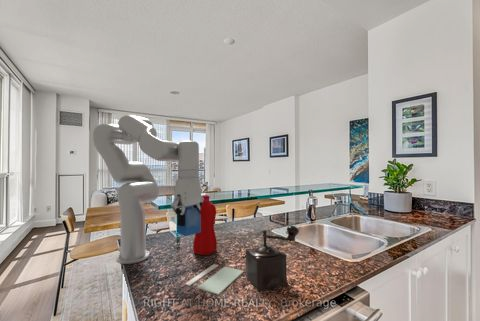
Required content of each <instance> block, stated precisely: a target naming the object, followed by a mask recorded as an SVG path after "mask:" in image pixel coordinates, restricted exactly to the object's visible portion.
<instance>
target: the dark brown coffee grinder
mask: <svg viewBox="0 0 480 321" xmlns="http://www.w3.org/2000/svg"><path fill="white" fill-rule="evenodd" d="M286 232H287V236H286V237H283V236H276V235H269V234H267V229H263V230H262V237H263V245H259V246H258V247H252V248H247V249H245V277H246V279H247V280H248V281H249V283H251V284H252V286H253V287H254V288H255V289H256V290H257V291H258V292H263V291H268V290H273V289H276V288H279V287H283V286H285V285H287V284H288V280H287V279H288V278H287V273H288V272H287V255H286V254H285V253H284V252H282V251H281V250H279V249H277V248H276V247H274V246H273V245H267V239H274V240H275V239H276V240H282V241H285V242H287V241H288V242H295V241H296V236H297V235H298V234H299V232H300V230H299V228H298V227H297V226H295V225H288V226H287V227H286Z"/></svg>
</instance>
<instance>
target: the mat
mask: <svg viewBox="0 0 480 321" xmlns="http://www.w3.org/2000/svg"><path fill="white" fill-rule="evenodd" d="M244 273H245V271H244V270H241V269H236V268H233V267H230V266H224V267H222V268H221V269H219V270H218V271H217V272H215V273H213V274H212V275H211V276H210V277H208V279H205V281H203V282H202V283H201V284H200V285H198V286H196V287H197V289H198V290H201V291H204V292H206V293H207V292H208V293H211V294H214V295H217V296H219V295H220V294H222V293H223V291H225V290H226V289H227V288H228V287H229V286H230V285H232V284H233V283H234V282H235V281H236V280H237V279H238V278H239V277H240V276H242V274H244Z"/></svg>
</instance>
